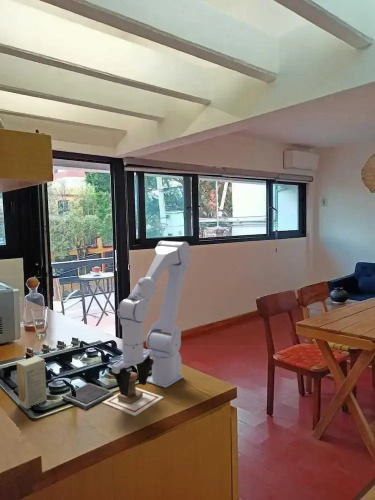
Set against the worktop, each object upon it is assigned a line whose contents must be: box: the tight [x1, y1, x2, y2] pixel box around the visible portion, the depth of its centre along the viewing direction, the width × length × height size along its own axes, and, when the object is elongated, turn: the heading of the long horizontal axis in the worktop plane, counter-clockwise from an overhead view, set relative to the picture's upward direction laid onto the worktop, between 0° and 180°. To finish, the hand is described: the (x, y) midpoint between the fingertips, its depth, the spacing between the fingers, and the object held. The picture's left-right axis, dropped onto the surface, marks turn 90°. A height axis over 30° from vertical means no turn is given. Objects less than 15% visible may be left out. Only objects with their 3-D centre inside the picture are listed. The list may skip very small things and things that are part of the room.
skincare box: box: [16, 355, 48, 410], centre depth 107 cm, size 6×4×12 cm
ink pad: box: [61, 382, 114, 410], centre depth 111 cm, size 10×10×1 cm
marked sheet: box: [102, 387, 164, 417], centre depth 110 cm, size 12×12×1 cm
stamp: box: [117, 371, 143, 404], centre depth 110 cm, size 5×5×7 cm
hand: (133, 389), depth 109 cm, fingers open, 7 cm apart
